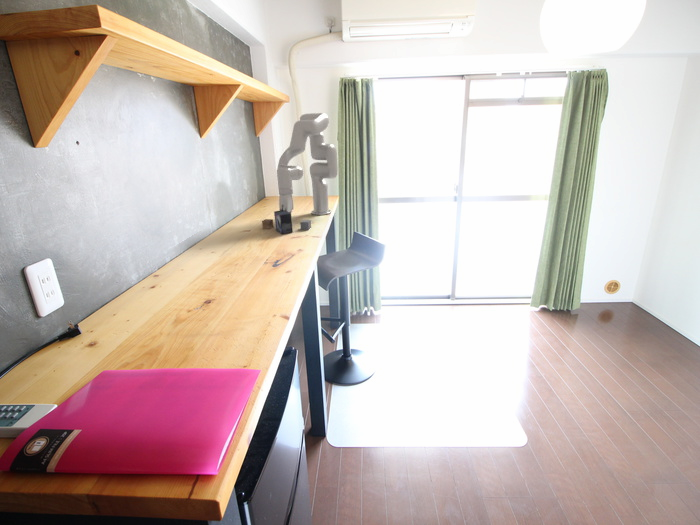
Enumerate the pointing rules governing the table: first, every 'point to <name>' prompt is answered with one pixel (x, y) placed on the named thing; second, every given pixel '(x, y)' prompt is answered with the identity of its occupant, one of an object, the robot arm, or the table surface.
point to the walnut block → (267, 223)
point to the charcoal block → (305, 224)
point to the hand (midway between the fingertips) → (288, 224)
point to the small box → (283, 221)
